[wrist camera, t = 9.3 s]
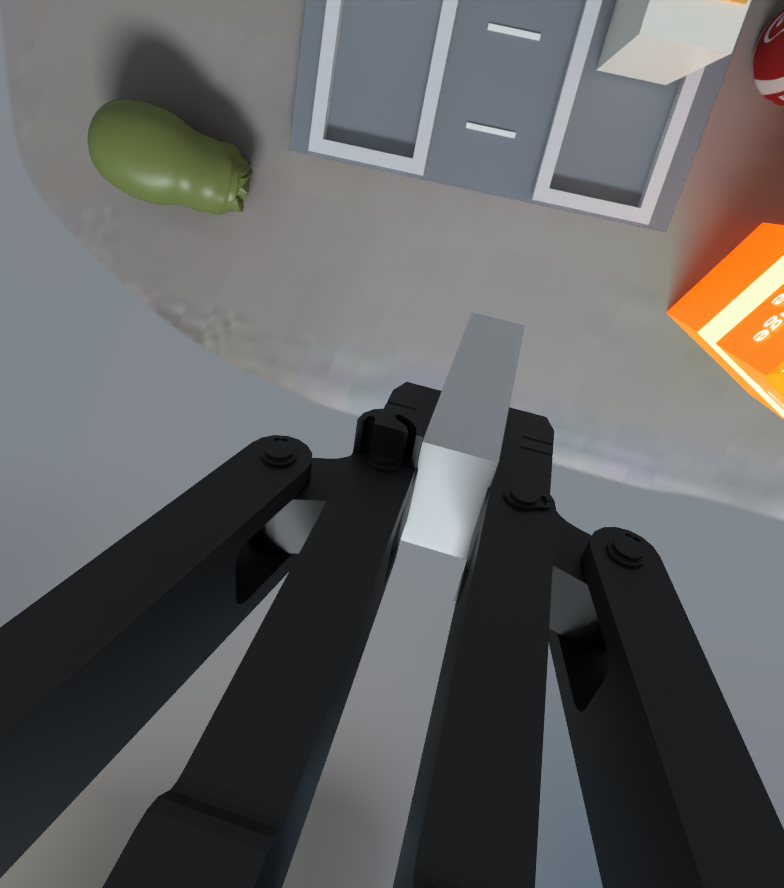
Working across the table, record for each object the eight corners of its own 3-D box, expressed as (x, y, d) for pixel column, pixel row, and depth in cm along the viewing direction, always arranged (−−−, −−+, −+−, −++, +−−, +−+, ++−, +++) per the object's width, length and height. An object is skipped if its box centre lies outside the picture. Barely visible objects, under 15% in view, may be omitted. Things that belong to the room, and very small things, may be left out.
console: (780, -102, 31) (803, -123, 29) (658, 230, 38) (670, 233, 36) (335, -194, 32) (326, -221, 30) (295, 151, 39) (285, 149, 37)
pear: (80, 77, 33) (256, 148, 35) (115, 86, 38) (268, 147, 40) (67, 180, 35) (233, 240, 37) (101, 176, 40) (247, 230, 42)
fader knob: (694, 0, 32) (777, -66, 23) (665, 85, 34) (733, 52, 25) (621, -16, 32) (677, -86, 24) (596, 70, 34) (640, 33, 25)
